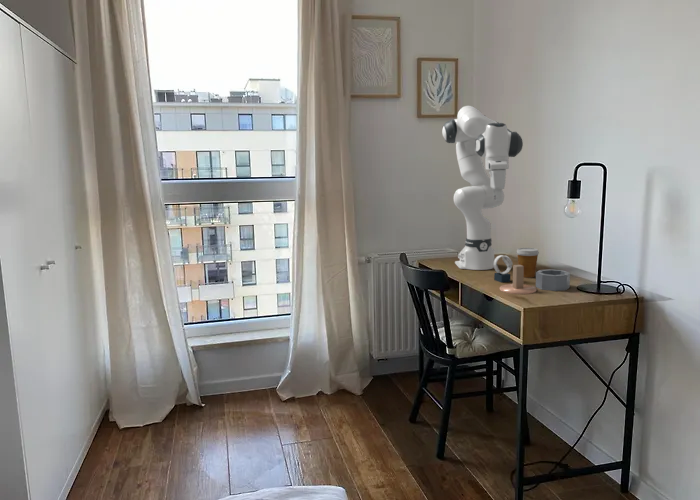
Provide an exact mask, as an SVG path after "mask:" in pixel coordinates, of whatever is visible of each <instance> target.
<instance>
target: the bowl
mask: <svg viewBox="0 0 700 500" xmlns="http://www.w3.org/2000/svg"><path fill="white" fill-rule="evenodd" d="M570 283H571V272H570V271H566V270H561V269H540V270H538V271H535V287H536V289H540V290H542V291H552V292H557V291H568V290H569V289H570V286H571V284H570Z"/></svg>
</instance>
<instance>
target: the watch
mask: <svg viewBox="0 0 700 500" xmlns="http://www.w3.org/2000/svg"><path fill="white" fill-rule="evenodd" d="M494 259H495V260H494V265H493V266H494V268H493V269H494V270H495V272H494V275H493V276H494V277H493V278H494V281H495V282H499V283H502V284H503V283H508V282H511V274H510V273H509V272H511V269H513V265H514V264H513V260H512V259H511V258H510V257H509V256H508V255H506V254H505V255H504V254H500V255H497V256H496V257H494ZM500 259H502V261H503V263H504V264H505V266H506V268H505V269H506V270H504V271H501V270H500V268H499V266H498V261H499V260H500Z"/></svg>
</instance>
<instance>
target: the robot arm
mask: <svg viewBox="0 0 700 500" xmlns="http://www.w3.org/2000/svg"><path fill="white" fill-rule="evenodd" d="M456 117H457V118H454V119H452V118H451V119H450V120H447V121H446V122H444V124H443V126H442V131H441V133H442V134H441V135H442V137H443V138H444V141H445V142H446V143H447V144H455V143H456V144H455V152H456V159H457V164H458V167H459V168H458V169H459V172H460V176H461V178H462V180H464V181H466V182H467V183H469V184H470V186H463V187H460V188H457V189H456V191H455V192H454V193H453V204H454V205H455V207H456V208H457V209H458V210H459V211H460V212H461V213H462V215H463V217H464V219H465V225H466V238H465V241H464V245H465V246H464V247H463V248H462V249H461V250H460V252H459V253H458V254H457V258H458V259H459V260H455V261H454V264H455V265H456V266H457V267H458V269H461V270H463V269H464V270H474V271H475V270H476V271H481V270H482V271H484V270H487V271H488V270H492V269H494V266H493V265H494V260H495V250H494V249H493V247H492V242H493V240H492V237H491V235H492V233H491V232H492V231H491V229H492V228H491V227H492V226H491V224H492V223H491V221H490V220H489V219H488V218H487V217H485V216H484V214H483V213H482V212H483V211H482V210H485V209H487V210H488V209H493V208H497V207H500V206H501V205H502V204H503V203H504V200H505V194H504V193H505V191H504V189H505V185H506V178H507V177H506V176H507V170H509V169H510V168H509V167H510V165H509V164H510V161H509V158H515V157H517V155H519V154H520V153H521V151H522V149H523V146H524V145H523V143H524V141H523V138H522V136H521V135H520V134H519V133H518V132H517V131H512V130H510V129H509V128H508V126H507V124H506V123H503V122H499V121H496V120H494V119H492V118H489V117H488V116H486V115H485V114H483V113H482V112H481V110H479V109H478V108H476V107H474V106H472V105H464V106H462V107H461V108H460V109H459V111H457V116H456ZM482 157H483V158H485V159H484V160H485V161H484V162H483V160H482ZM484 163H485V165H484ZM486 171H488V174H487V172H486ZM489 175H490V176H489Z"/></svg>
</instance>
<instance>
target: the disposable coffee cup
mask: <svg viewBox="0 0 700 500" xmlns="http://www.w3.org/2000/svg"><path fill="white" fill-rule="evenodd" d="M539 254H540V252H539V249H538V248H535V247H520V248H517V249H516V255H517V265H522V266H524V277H523V278H526V279H527V278H528V279H529V278H531V279H532V278H534V277H535V278H536V269H537V263H538V257H539Z"/></svg>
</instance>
